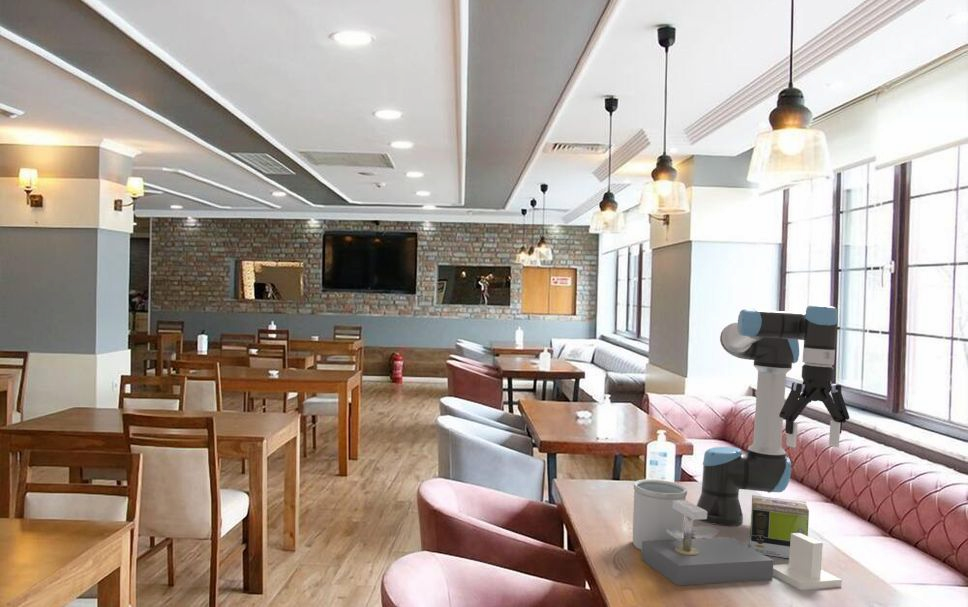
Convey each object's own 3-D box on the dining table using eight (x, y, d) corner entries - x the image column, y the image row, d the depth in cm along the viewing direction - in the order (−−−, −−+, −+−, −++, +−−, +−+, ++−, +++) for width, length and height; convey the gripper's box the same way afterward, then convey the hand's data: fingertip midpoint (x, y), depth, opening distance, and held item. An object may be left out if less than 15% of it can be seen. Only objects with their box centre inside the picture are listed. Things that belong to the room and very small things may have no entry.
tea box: (803, 551, 215) (807, 501, 214) (806, 562, 205) (810, 509, 205) (748, 542, 219) (752, 493, 219) (749, 553, 210) (752, 501, 210)
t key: (663, 538, 200) (666, 496, 200) (676, 538, 202) (679, 496, 201) (690, 556, 187) (693, 511, 187) (704, 556, 189) (707, 511, 189)
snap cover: (806, 570, 200) (809, 529, 200) (841, 587, 188) (844, 544, 188) (767, 572, 196) (770, 531, 195) (800, 590, 184) (803, 547, 184)
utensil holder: (674, 559, 200) (678, 495, 200) (622, 547, 208) (626, 485, 208) (689, 546, 213) (693, 485, 213) (640, 534, 221) (644, 476, 221)
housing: (729, 554, 207) (730, 536, 207) (772, 579, 190) (773, 559, 190) (641, 559, 199) (642, 540, 199) (677, 585, 182) (679, 564, 182)
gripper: (788, 365, 184) (782, 449, 184) (867, 368, 192) (862, 449, 192) (768, 362, 191) (762, 443, 192) (845, 365, 199) (840, 443, 199)
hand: (812, 446), depth 192 cm, fingers open, 13 cm apart
